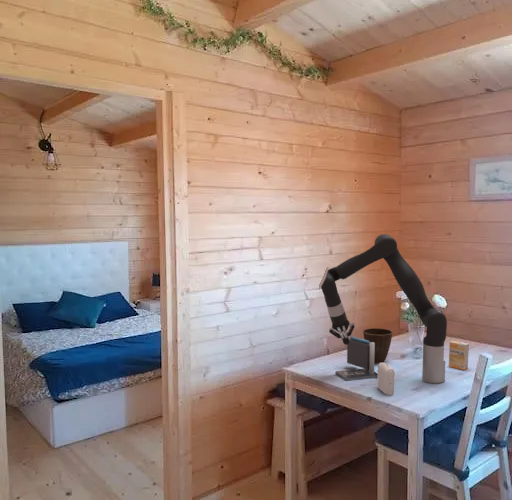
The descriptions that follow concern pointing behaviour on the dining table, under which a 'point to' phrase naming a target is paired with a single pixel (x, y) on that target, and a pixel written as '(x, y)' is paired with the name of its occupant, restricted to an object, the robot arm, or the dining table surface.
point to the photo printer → (385, 378)
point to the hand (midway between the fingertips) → (347, 343)
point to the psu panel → (357, 374)
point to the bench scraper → (361, 353)
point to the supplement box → (458, 355)
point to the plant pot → (379, 342)
